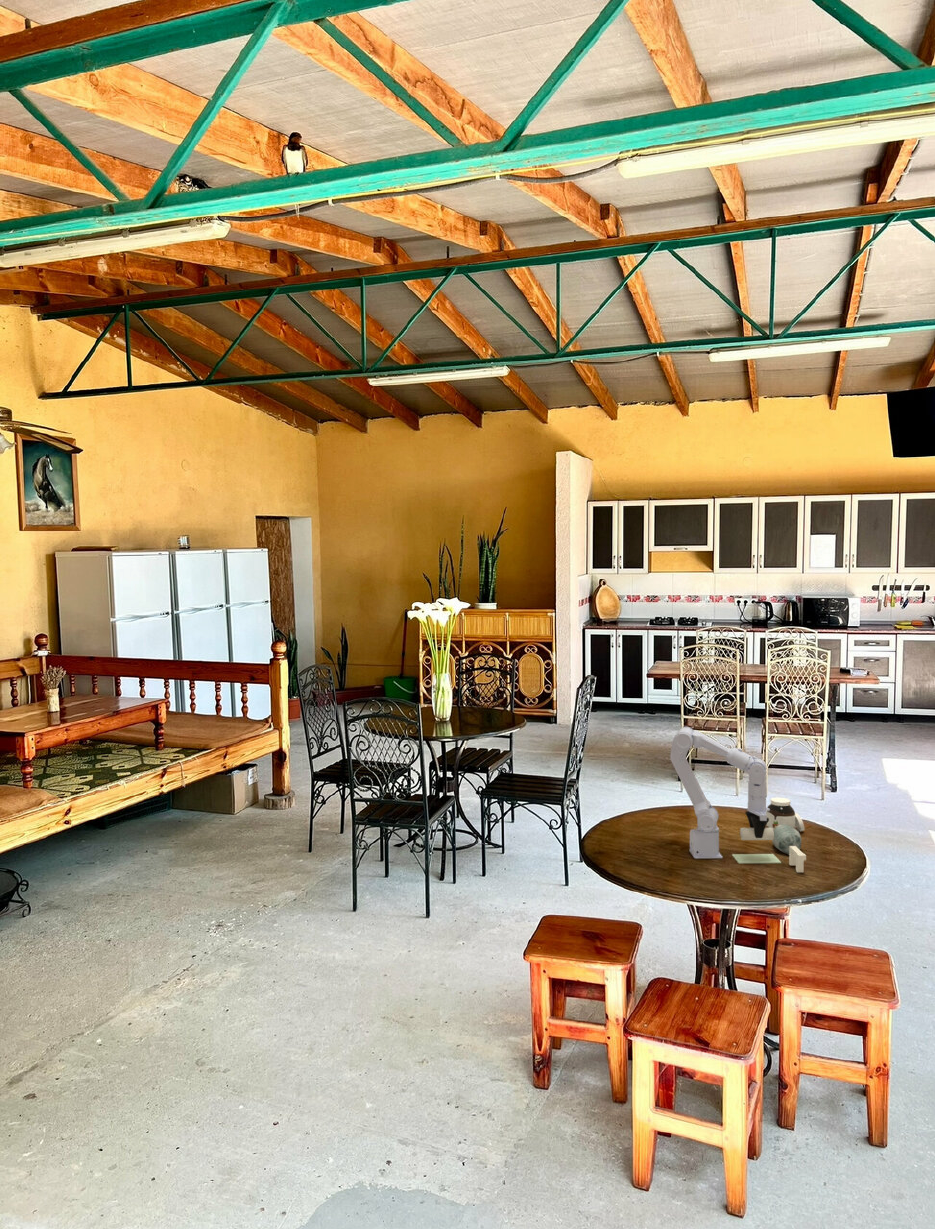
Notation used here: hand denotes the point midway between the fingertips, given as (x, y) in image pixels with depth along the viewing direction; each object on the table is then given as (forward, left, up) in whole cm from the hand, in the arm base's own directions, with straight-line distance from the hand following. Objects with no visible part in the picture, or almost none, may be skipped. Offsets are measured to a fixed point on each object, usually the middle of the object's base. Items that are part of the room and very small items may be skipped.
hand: (756, 835), depth 291 cm
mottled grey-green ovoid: (+13, +9, -9) cm, 18 cm away
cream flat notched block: (+10, -9, -8) cm, 16 cm away
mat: (0, +1, -8) cm, 8 cm away
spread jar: (+20, +30, -9) cm, 37 cm away
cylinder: (0, 0, -2) cm, 2 cm away
